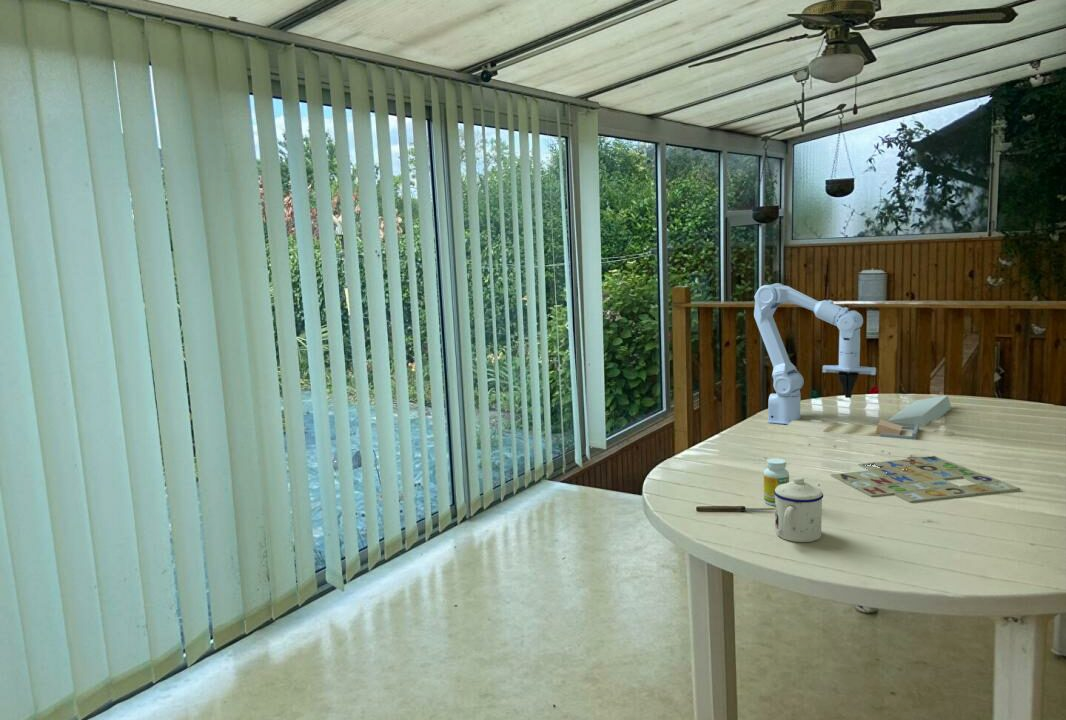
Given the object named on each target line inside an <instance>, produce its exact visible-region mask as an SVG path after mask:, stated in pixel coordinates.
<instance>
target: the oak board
mask: <svg viewBox="0 0 1066 720" xmlns="http://www.w3.org/2000/svg"><path fill="white" fill-rule="evenodd" d="M877 426H878V425H871V424H870V425H868V424H857V423H856V424H855V423H843V422H829V424H828V425H827V426H826V427H825V429H823V432H825V433H835V434H846V435H847V434H848V435H858V436H869V437H879V436H880V433H877V432H876V429H877Z"/></svg>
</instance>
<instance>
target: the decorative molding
mask: <svg viewBox="0 0 1066 720" xmlns="http://www.w3.org/2000/svg"><path fill="white" fill-rule="evenodd" d="M951 409H952V405H951V402H950V398H949V395H942V396H935V397H930V398H929V397H928V398H922V399H917V400H914V401H913V402H910V404H909V405H907V406H905V407H904V408H903V409H901V410H900V411H898V412H897V413H895V414H894V415H893V416H891V417H890V418H889V419H887V420H886V421H887V422H891V423H894V424H904V425H912V426H913V425H914V426H915V425H916V424H919V426H921V427H924V426H926V425H928V424H929V423H930V422H931V421H938V420H939V419H941V418H942V417H943V416H945V415H946V414H947V413H948V412H947V411H950V410H951Z"/></svg>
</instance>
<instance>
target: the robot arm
mask: <svg viewBox="0 0 1066 720" xmlns="http://www.w3.org/2000/svg"><path fill="white" fill-rule="evenodd" d="M754 300H755V301H754V310H753V317H754V319H755V323H756V325H757V328H758V332H759V333H760V336H761V338H762V341H763V343H764V346H765V349H766V352H767V354H768V356H769V359H770V362H771V364H772V367H773V370H772V374H771V377H772V379H773V384H772V385H773V389H774V391H775V392H776V393H770V394H769V396H768V403H767V404H768V405H767V406H768V407H767V408H768V409H767V411H768V412H767V414H768V417H767V423H768V424H778V425H779V424H780V425H789V424H791V423H792V422H793V421H796V420H800V419H801V391H800V390H801V388H803V386H804V381H805V380H804V377H803V376H802V374H801V373H800V372H799V371H798V370H797V366H795V365H794V364H793V363H792V362H791V360H790V357H789V355H788V352H787V350H786V347H785V344H784V341H783V340H782V337H781V333H780V332H779V329H778V326H777V324H776V321H775V318H774V316H773V315H774V314H775V312H776V310H777V309H778V307H779V306H780V305H781V304H782V303H791V304H795V305H797V306H799V307H801V308H805V309H807V310H810V311H812V312H813V314H814V316H815V317H816V318H817V319H820V320H821V321H824V322H825V323H829V324H830V325H833V326H835V327H837V329H838V331H839V339H838V364H835V365H831V364H830V365H829V364H828V365H827V364H826V365H825V364H824V365H823V366H822V373H823V374H824V373H834V374H838V380H839V381H840V382H841V385H842V388H843V392H844V396H845V397H844V398H847V399H850V398H851V397H852V394H853V390H854V387H855V385H856V382H857V380H858V378H859V376H860V375H871V376H876V374H877V368H876V367H872V366H871V367H870V366H860V363H861V361H860V359H861V358H860V355H861V354H860V353H861V327H862V325H863V324H864V318H863V316H862V314H861V313H859V312H858V311H857V310H849V307H845V306H844V307H842V306H840V305H838V304H835V303H834V300H831V299H828V300H826V299H824V300H821V301H818V300H817V299H815V298H813V297H810V296H808V295H806V294H804V293H802V292H800V291H798V290H796V289H794V288H793V287H791V286H789V285H784V284H782V283H779V282H776V283H773V284H764V285H761V286H760V287H759V288H758V289H757V291H756V292H755V295H754Z"/></svg>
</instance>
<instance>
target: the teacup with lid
mask: <svg viewBox="0 0 1066 720" xmlns="http://www.w3.org/2000/svg"><path fill="white" fill-rule="evenodd" d="M774 494H775V506H774V507H775V508H774V510H775V511H774V513H775V514H774V515H775V516H774V521H775V522H774V531H775V532H774V533H775V534H776V535H777V536H778V537H779V538H781V539H783V540H786V541H789V542H795V543H810V542H811V543H812V542H815V541H818V540H820V539H821V536H822V515H823V513H822V512H823V509H822V507H823V498H824V493H823V491H822V489H821V488H819V487H818V486H815V485H812V484H809V482H806V481H805V479H804V477H802V476H795V477H793V479H792V480H791V481H789V482H788V483H786V484H781V485H779V486H777V487H776V488H775V491H774Z"/></svg>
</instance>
